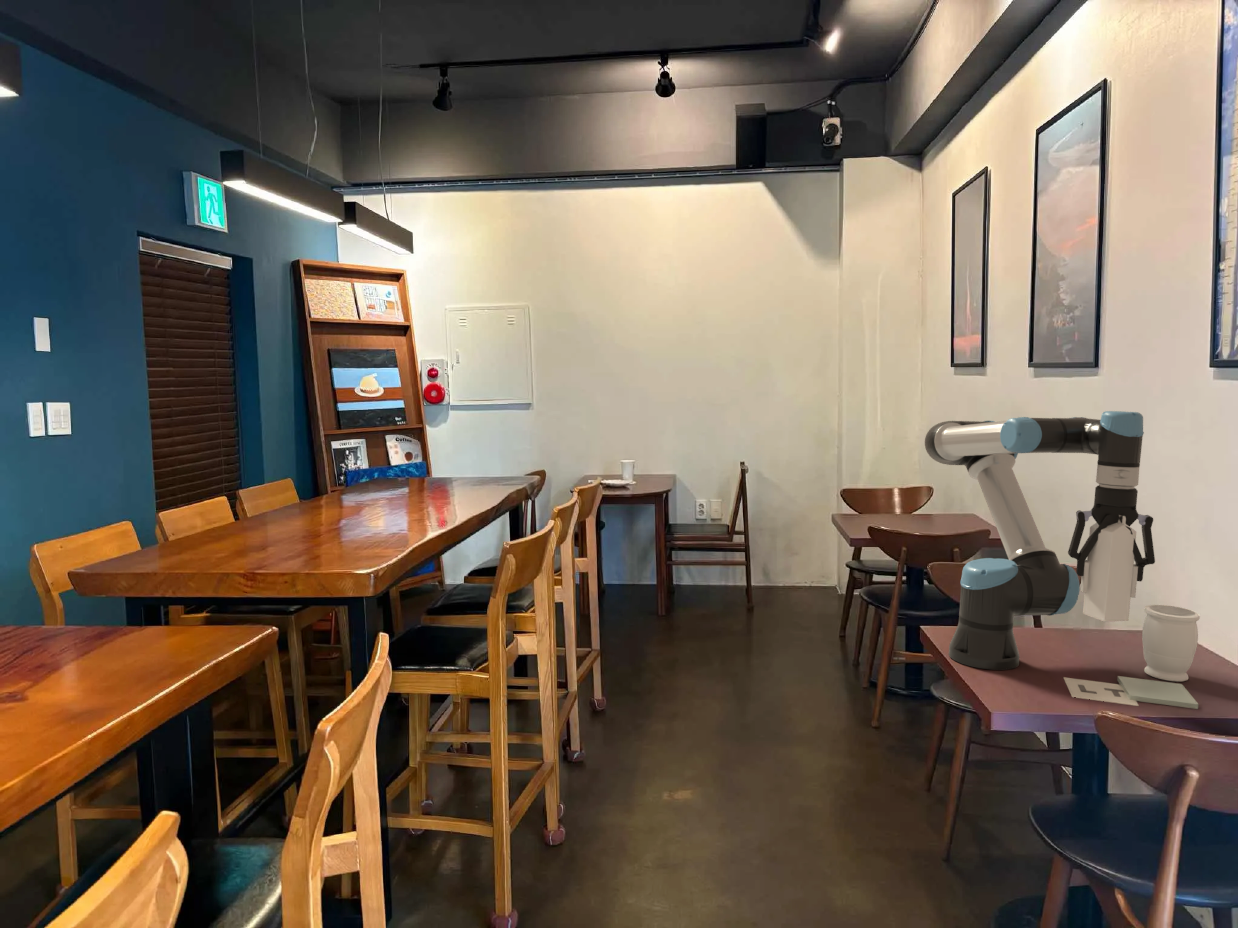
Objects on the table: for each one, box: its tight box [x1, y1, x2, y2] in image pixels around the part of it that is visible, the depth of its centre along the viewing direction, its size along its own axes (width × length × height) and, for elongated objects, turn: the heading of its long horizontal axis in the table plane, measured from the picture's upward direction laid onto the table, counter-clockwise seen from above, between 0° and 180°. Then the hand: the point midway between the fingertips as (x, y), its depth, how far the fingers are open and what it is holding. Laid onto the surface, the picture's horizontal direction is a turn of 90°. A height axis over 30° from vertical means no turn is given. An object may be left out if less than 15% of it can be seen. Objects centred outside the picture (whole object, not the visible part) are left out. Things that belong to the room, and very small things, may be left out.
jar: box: [1141, 604, 1201, 683], centre depth 185 cm, size 11×10×15 cm
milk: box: [1082, 515, 1137, 623], centre depth 173 cm, size 6×6×22 cm
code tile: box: [1063, 677, 1140, 707], centre depth 176 cm, size 12×12×1 cm
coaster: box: [1117, 675, 1199, 710], centre depth 175 cm, size 12×12×1 cm
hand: (1107, 593), depth 174 cm, fingers closed on milk, 8 cm apart
